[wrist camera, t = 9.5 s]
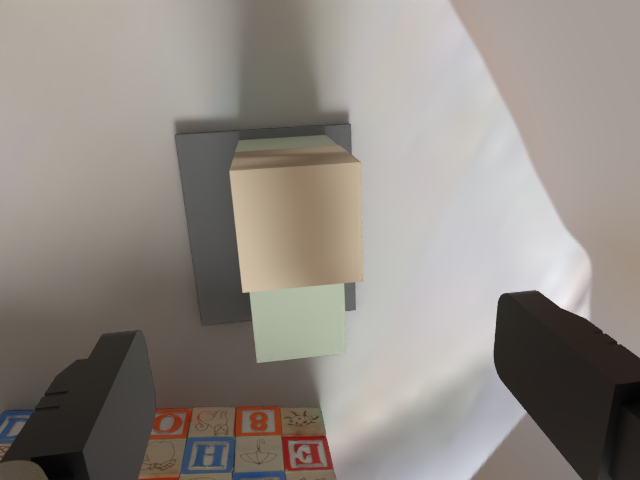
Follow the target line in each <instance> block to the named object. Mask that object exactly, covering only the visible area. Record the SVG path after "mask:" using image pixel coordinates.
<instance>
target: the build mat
mask: <svg viewBox="0 0 640 480" xmlns="http://www.w3.org/2000/svg"><path fill="white" fill-rule="evenodd" d="M315 135H326V136H328V137H329V138H330V139H331V140H333V141H334V142H335V143H336V144H338V145H340V146H341V147H343V148H344V149H345V150H346V151H348V152H349V153H350V154H351V155H352V152H351V124H333V125H317V126H301V127H284V128H268V129H251V130H235V131H219V132H202V133H186V134H176V135H175V140H176V147H177V154H178V161H179V168H180V175H181V182H182V189H183V196H184V203H185V210H186V217H187V224H188V231H189V238H190V245H191V252H192V259H193V266H194V273H195V280H196V287H197V294H198V301H199V308H200V315H201V322H202V326H203V325H213V324H223V323H233V322H243V321H252V312H251V302H250V293H249V292H245V293H242V283H241V274H240V265H239V256H238V246H237V237H236V228H235V219H234V209H233V200H232V191H231V182H230V172H229V170H230V167H231V164H232V161H233V158H234V154H235V151H236V148H237V144H238V141H239V140H251V139H267V138H283V137H299V136H315ZM344 293H345V311H351V310H356V302H355V282H352V283H344Z"/></svg>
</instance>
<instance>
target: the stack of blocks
mask: <svg viewBox="0 0 640 480" xmlns="http://www.w3.org/2000/svg"><path fill="white" fill-rule="evenodd" d="M33 412H35V410H33V411H4V412H3V413H2V414H1V415H0V461H1V459H2V458H3V456H4V455H5V453H6V452H7V450H8V449H9V447H10V446H11V444H12V443H13V441H14V440H15V438H16V437H17V435H18V434H19V432H20V431H21V429H22V428H23V426H24V425H25V423H26V421H27V420H28V418H29V417H30V415H31V414H32V413H33ZM138 480H336V476H335V473H334V468H333V464H332V459H331V455H330V451H329V446H328V442H327V438H326V431H325V426H324V421H323V416H322V411H321V408H279V407H194V408H192V409H156V414H155V421H154V425H153V428H152V432H151V435H150V439H149V442H148V446H147V449H146V453H145V456H144V460H143V463H142V467H141V470H140V473H139V477H138Z"/></svg>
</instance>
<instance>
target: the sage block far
mask: <svg viewBox="0 0 640 480" xmlns="http://www.w3.org/2000/svg"><path fill="white" fill-rule="evenodd" d="M249 293H250V302H251V312H252V321H253V331H254V340H255V350H256V359H257V363H261V362H271V361H280V360H289V359H298V358H307V357H316V356H325V355H334V354H343V353H347V351H346V322H345V293H344V283H341V284H331V285H320V286H309V287H299V288H288V289H277V290H267V291H256V292H249Z"/></svg>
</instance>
